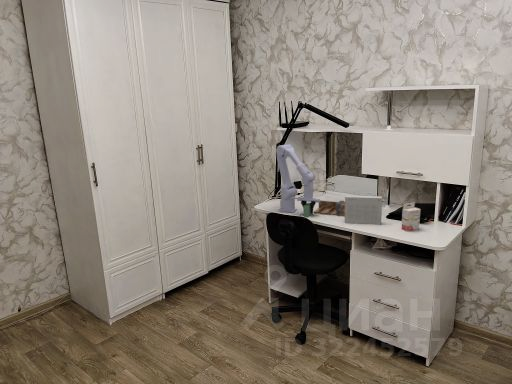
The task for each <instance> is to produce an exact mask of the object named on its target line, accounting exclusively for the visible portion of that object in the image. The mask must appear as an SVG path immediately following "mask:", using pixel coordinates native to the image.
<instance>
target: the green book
mask: <svg viewBox="0 0 512 384" xmlns="http://www.w3.org/2000/svg"><path fill="white" fill-rule="evenodd" d="M310 203H311V202H307V204H306V205H304V206H302V208H303V216H304V218H309V217H311V216H312V215H313V214H314V211H313V212H312V213H310Z"/></svg>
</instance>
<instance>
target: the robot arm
mask: <svg viewBox="0 0 512 384" xmlns="http://www.w3.org/2000/svg"><path fill="white" fill-rule="evenodd" d="M275 152H276V159H277V160H276V161H277V166H278V169H279V172H280V177H281V181H282V186H281V187H280V190H281V193H280V195H281V198H280V200H279V212H282V213H283V212H285V213H294V212H296V211H298V209H297V208H296V205H295V204H296V201H295V200H297V202H300V204H301V206H302V207H303V206H304V205H306V204H307V203H310V213H312V212H313V213H314V208H315V205H316V203H318V204H319V202H320V200H321V199H320V198H314V181H315V179H316V175H315V173H314V172H311V171H310V170H309V168H308V167H307V165H306V164H305V163H303V162H301V160H300V159H299V157H298V156H297V154H296V152H295V148H294V147H293V145H292V144H290V143H288V144H282V145H278V146H277V148H276V150H275ZM287 158H290V160H292V162H293V163H294V165H295V166H296V168H295V169H296V170H297V172H298V173H299V175H300V176H301V181H302V184H303V196H302V197H300V196H298V197H297V198H296V196H297V194H298V190H297V188H296V185H295V184H294V183H293V182H292V180H291V176H290V170H289V168H288V164H287Z"/></svg>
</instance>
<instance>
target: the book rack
mask: <svg viewBox="0 0 512 384" xmlns="http://www.w3.org/2000/svg"><path fill="white" fill-rule="evenodd" d="M313 214H315V215H317V214H318V215H327V216H335V217H345V200H339V201H329V200H321V199H320V202H319V203H318V208H317V209H316V210H313Z"/></svg>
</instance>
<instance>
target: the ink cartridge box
mask: <svg viewBox="0 0 512 384" xmlns="http://www.w3.org/2000/svg"><path fill="white" fill-rule="evenodd" d="M402 205H403V206H402V211H401V212H402V214H401V217H402V218H401V229H402V230H403V229H404V231H406V232H410V231H415V229H417V230H419V229H420V220H421V208H418V207H415V205H416V202H415V201H413V202H408V203H407V202H406V203H403V204H402Z"/></svg>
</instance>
